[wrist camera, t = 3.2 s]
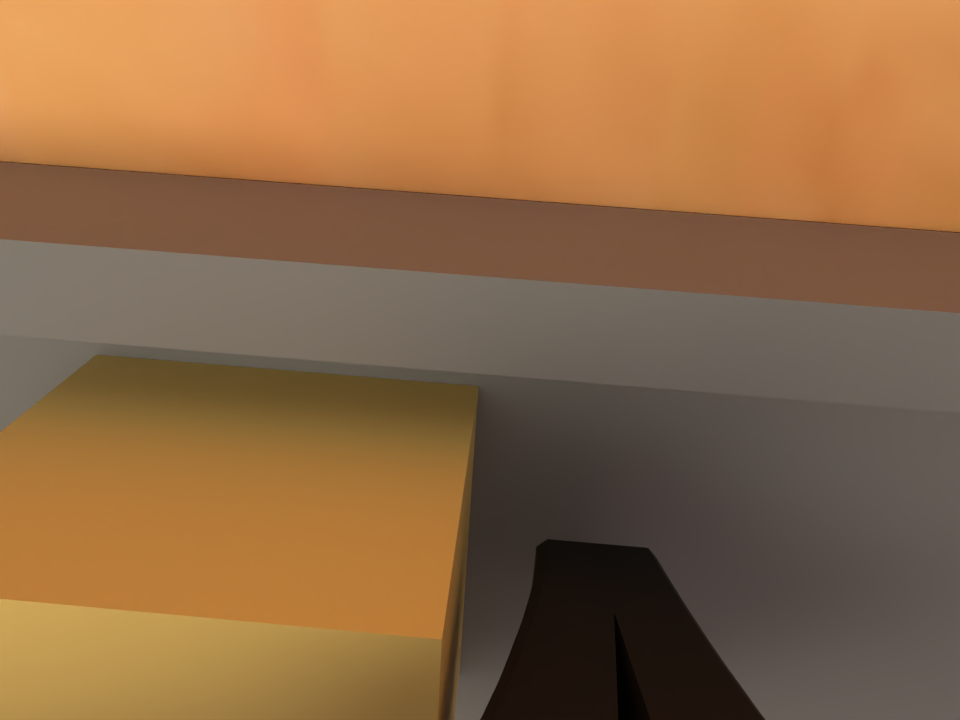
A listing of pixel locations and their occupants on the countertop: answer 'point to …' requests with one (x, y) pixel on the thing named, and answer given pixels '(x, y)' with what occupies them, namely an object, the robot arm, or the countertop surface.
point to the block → (234, 545)
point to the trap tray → (576, 391)
